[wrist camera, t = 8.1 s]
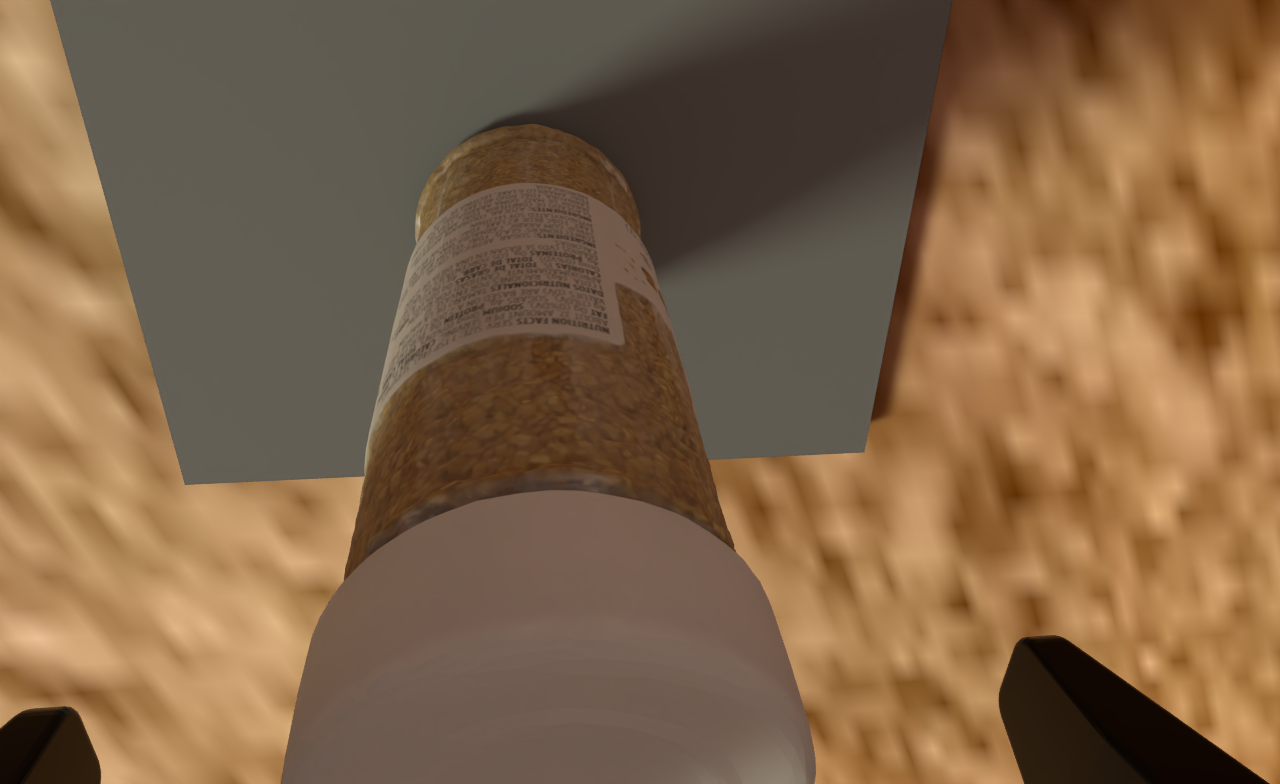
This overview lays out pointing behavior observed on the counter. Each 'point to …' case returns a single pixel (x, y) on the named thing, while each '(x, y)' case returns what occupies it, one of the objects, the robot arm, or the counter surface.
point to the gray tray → (453, 113)
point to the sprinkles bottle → (541, 517)
